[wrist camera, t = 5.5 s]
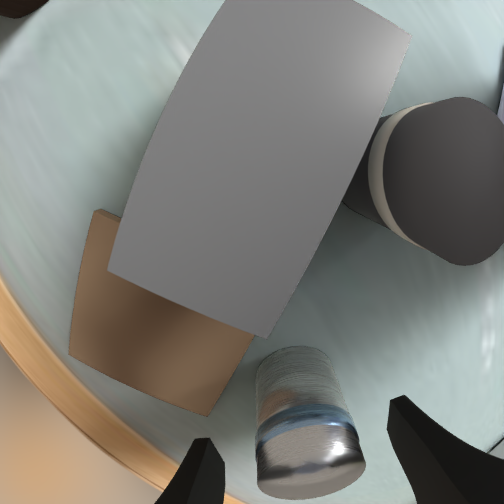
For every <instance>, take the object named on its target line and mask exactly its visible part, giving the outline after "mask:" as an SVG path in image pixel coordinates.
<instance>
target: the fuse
mask: <svg viewBox="0 0 504 504" xmlns="http://www.w3.org/2000/svg"><path fill="white" fill-rule="evenodd" d="M256 428H257V432H256V436H255V449H256V462H257V485H258V487H259V489H260V490H261V491H262V492H263V493H265V494H267V495H269V496H272V497H275V498H280V499H289V500H300V499H310V498H316V497H321V496H325V495H328V494H331V493H334V492H336V491H339V490H341V489H343V488H345V487H347V486H349V485H350V484H352V483H353V482H355V481H356V480H357V479H358V478H359V477H360V476H361V475H362V474H363V472H364V470H365V468H366V462H365V459H364V456H363V453H362V450H361V447H360V444H359V437H358V434H357V431H356V428H355V425H354V422H353V419H352V417H351V415H350V414H349V412H348V409H347V406H346V403H345V400H344V397H343V394H342V392H341V389H340V386H339V383H338V380H337V378H336V375H335V372H334V369H333V367H332V364H331V361H330V360H329V358H328V357H327V356H326V355H325V354H324V353H323V352H321V351H319V350H317V349H315V348H311V347H306V346H293V347H287V348H284V349H281V350H278V351H276V352H274V353H272V354H271V355H269V356H268V357H267V358H265V359H264V361H263V362H262V363H261V364H260V366H259V367H258V369H257V372H256Z"/></svg>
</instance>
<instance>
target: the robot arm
mask: <svg viewBox="0 0 504 504" xmlns="http://www.w3.org/2000/svg"><path fill="white" fill-rule="evenodd" d="M497 116H498V118H499V119H500V120H501V121H502V123H503V124H504V85H503V90H502V96H501V101H500V105H499V110H498V114H497ZM387 431H388V434H389V437H390V440H391V443H392V446H393V449H394V451H395V453H396V455H397V457H398V460H399V462H400V464H401V466H402V468H403V470H404V472H405V474H406V476H407V478H408V480H409V482H410V485H411V487H412V489H413V492H414V494H415V497H416V501H417V504H504V459H501V458H498V457H496V456H493V455H490V454H488V453H485V452H483V451H481V450H479V449H477V448H475V447H473V446H471V445H469V444H467V443H466V442H464V441H462V440H461V439H459V438H457V437H456V436H454V435H453V434H451V433H450V432H449V431H447V430H446V429H444V428H443V427H442V426H440V425H439V424H438V423H437V422H435V421H434V420H433V419H431V418H430V417H429V416H428V415H427V414H425V413H424V412H423V411H422V410H421V409H420V408H419V407H417V406H416V405H415V404H414V403H413V402H412V401H411V400H410V399H409V398H408V397H407V396H405V395H402V396H400V397H397V398H394V399H391V400H390V406H389V415H388V423H387ZM224 492H225V462H224V461H223V459H222V458H221V456H220V454H219V453H218V451H217V449H216V448H215V446H214V444H213V443H212V441H211V439H210V438H198V439H195V440H194V441H193V443H192V445H191V447H190V449H189V450H188V452H187V454H186V456H185V458H184V460H183V462H182V463H181V465H180V467H179V469H178V470H177V472H176V473H175V475H174V477H173V478H172V480H171V481H170V483H169V484H168V486H167V487H166V489H165V490H164V492H163V493H162V494H161V496H160V497H159V498H158V500H157V501H156V502H155V503H154V504H223V501H224Z"/></svg>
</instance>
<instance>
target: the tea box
mask: <svg viewBox="0 0 504 504" xmlns="http://www.w3.org/2000/svg"><path fill="white" fill-rule="evenodd" d="M489 454H490V455H493V456H496V457H498V458H501V459H504V440H503V441H502V442H501V443H500V444H499V445H497V446H496V447H495V448H494V449H493V450H492V451H491V452H490V453H489Z"/></svg>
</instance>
